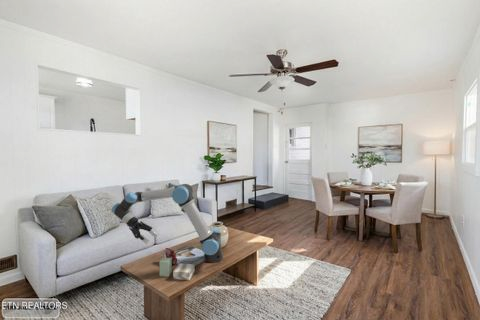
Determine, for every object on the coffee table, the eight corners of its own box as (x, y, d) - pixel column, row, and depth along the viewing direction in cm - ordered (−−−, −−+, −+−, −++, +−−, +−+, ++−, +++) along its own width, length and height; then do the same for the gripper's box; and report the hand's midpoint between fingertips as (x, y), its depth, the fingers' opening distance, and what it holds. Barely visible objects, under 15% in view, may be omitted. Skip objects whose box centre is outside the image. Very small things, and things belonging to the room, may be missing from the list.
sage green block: (171, 272, 162) (171, 257, 162) (168, 276, 157) (168, 262, 156) (163, 271, 163) (163, 257, 163) (159, 276, 157) (159, 261, 157)
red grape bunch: (171, 267, 168) (171, 253, 168) (162, 262, 176) (161, 248, 176) (179, 264, 174) (179, 250, 173) (170, 259, 182) (169, 246, 181)
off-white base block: (194, 271, 163) (194, 264, 163) (189, 280, 152) (189, 272, 152) (179, 270, 164) (179, 263, 164) (173, 279, 154) (173, 271, 153)
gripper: (136, 220, 181) (157, 238, 179) (116, 228, 156) (139, 249, 154) (142, 212, 180) (163, 230, 178) (123, 220, 156) (146, 240, 154)
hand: (152, 239), depth 166 cm, fingers open, 13 cm apart
